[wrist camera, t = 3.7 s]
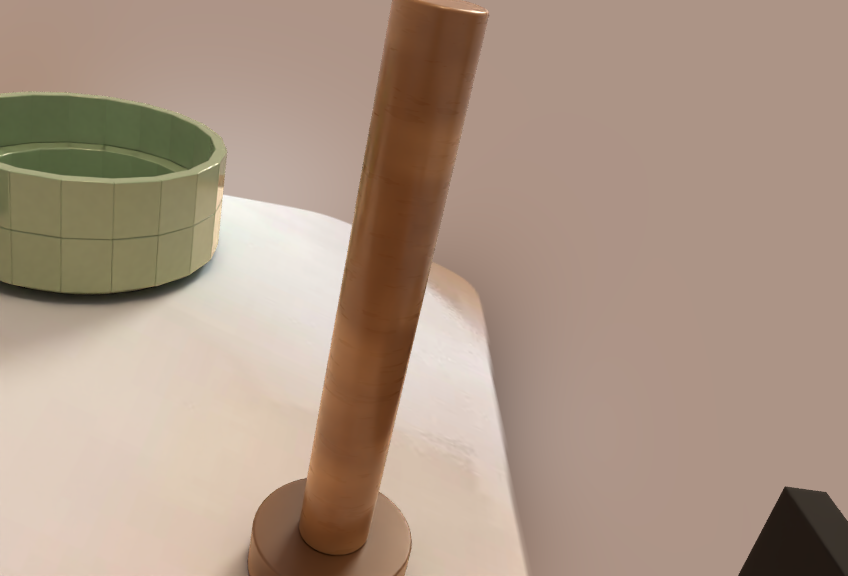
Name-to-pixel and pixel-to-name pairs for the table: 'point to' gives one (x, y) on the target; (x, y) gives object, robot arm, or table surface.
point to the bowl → (104, 193)
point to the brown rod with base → (378, 304)
